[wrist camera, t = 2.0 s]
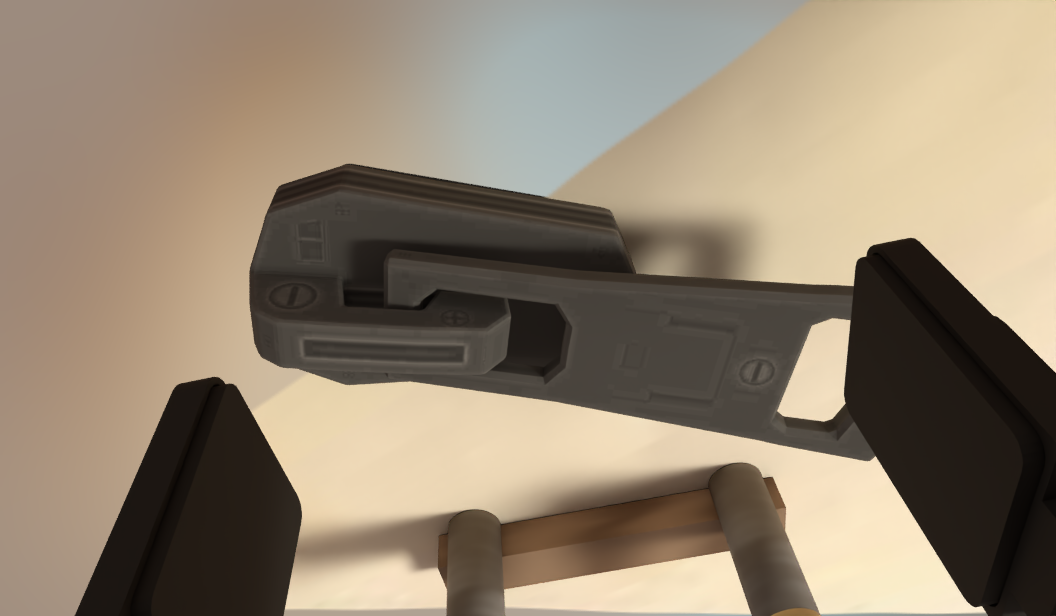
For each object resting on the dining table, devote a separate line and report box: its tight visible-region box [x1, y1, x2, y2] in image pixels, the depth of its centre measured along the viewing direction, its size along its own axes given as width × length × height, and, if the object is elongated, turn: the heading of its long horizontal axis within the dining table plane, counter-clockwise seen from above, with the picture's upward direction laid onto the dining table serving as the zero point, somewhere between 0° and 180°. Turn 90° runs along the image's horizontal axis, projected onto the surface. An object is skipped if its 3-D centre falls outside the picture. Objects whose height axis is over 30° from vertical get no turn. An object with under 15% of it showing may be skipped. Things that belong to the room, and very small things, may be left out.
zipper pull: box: [250, 164, 875, 461], centre depth 29 cm, size 9×7×25 cm
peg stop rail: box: [438, 463, 821, 616], centre depth 36 cm, size 18×5×11 cm, turn 100°
